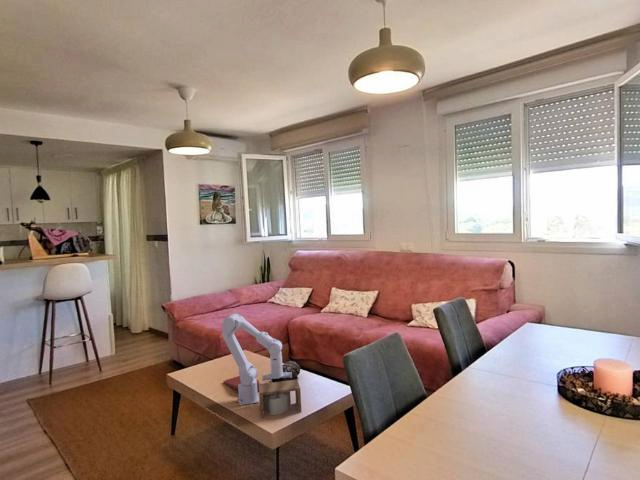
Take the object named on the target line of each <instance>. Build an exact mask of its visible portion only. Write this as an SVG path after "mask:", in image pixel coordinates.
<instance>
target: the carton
mask: <svg viewBox="0 0 640 480" xmlns="http://www.w3.org/2000/svg"><path fill="white" fill-rule="evenodd" d="M256 380H257V394H259V384H260V380H259V379H256ZM222 384H224V385H226V386H228V387H231V388H233V389H235V390H238V384H241V381H240V375H239V376H235V377H232V378H228V379H226V380H223V383H222Z"/></svg>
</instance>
